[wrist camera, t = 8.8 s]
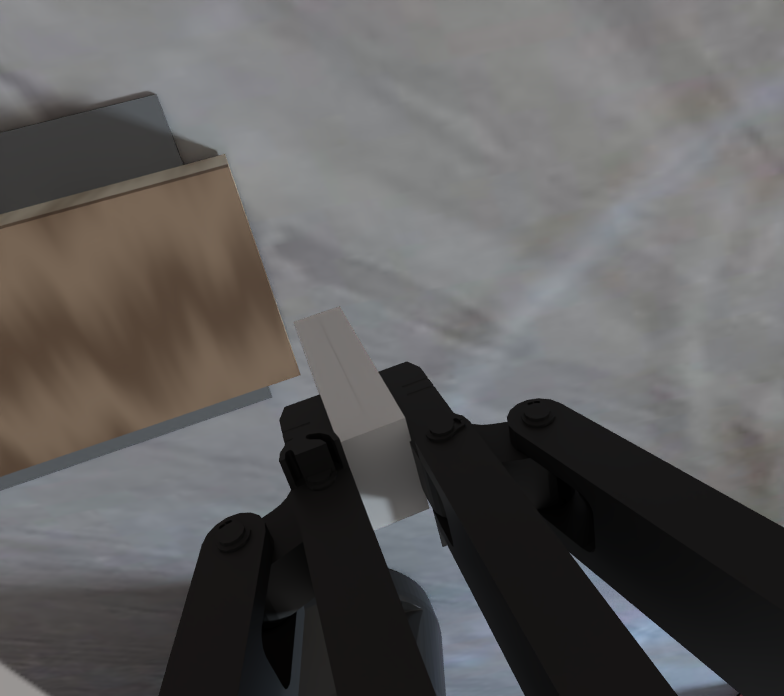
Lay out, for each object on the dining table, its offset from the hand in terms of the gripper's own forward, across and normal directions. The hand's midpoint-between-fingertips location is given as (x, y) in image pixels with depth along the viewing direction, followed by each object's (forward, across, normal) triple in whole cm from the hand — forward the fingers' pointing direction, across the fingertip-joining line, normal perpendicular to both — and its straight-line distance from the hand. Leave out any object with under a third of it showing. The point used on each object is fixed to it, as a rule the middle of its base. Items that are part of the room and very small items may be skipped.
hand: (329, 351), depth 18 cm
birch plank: (+10, +1, 0) cm, 10 cm away
